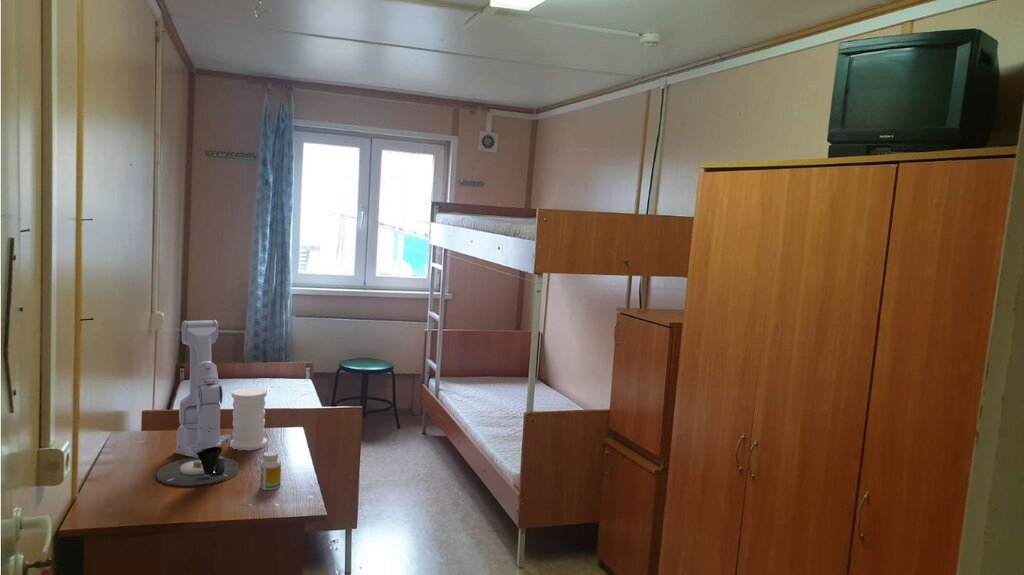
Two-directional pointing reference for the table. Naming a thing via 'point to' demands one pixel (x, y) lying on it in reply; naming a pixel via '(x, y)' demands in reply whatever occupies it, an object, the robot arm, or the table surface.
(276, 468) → the supplement bottle
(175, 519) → the table surface
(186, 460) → the dial plate
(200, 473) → the dial
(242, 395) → the decorative container
